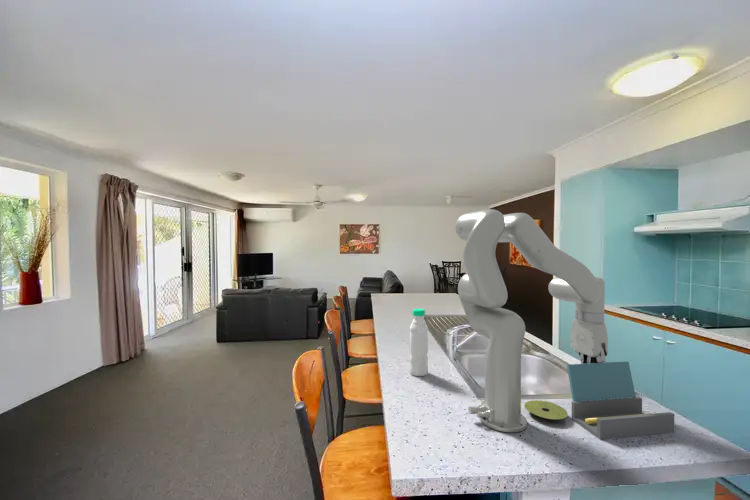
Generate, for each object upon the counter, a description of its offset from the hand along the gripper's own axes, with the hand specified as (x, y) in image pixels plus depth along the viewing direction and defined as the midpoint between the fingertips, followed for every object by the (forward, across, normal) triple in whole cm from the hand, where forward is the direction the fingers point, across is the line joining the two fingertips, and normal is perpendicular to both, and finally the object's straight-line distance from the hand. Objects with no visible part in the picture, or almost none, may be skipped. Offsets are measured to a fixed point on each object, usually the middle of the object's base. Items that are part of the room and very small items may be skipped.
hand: (589, 375), depth 101 cm
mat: (+10, +3, -17) cm, 20 cm away
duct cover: (0, +5, 0) cm, 5 cm away
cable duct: (+9, +11, 0) cm, 15 cm away
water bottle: (+10, -34, -44) cm, 56 cm away
